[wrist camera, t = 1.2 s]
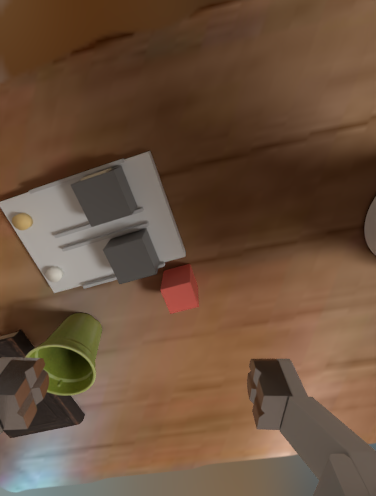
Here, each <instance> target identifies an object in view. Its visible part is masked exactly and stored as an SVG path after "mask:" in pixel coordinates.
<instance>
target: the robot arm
mask: <svg viewBox="0 0 376 496" xmlns="http://www.w3.org/2000/svg"><path fill="white" fill-rule="evenodd" d="M364 232H365V239H366V242H367V245H368V247H369V248H370V250H371V251H372V252H373V253H374V254H375V255H376V197H375V198H374V200H373V202H372V204H371V206H370V208H369V210H368V213H367V216H366V220H365V227H364ZM44 366H45V362H44V359H43V358H23V357H1V358H0V434H1V433H2V432H3V430H18V429H28V427H29V425H30V424H31V422H32V420H33V418H34V416H35V414H36V412H37V407H36V405H37V404H38V403H39V402H40V401H42V400H43V399H44V397H45V395H46V393H47V390H48V386H49V375H48V373H47V372H46V371H45V370H44V369H43V368H44ZM249 367H250V370H251V371H250V372H249V373H248V377H247V389H248V395H249V399H250V401H251V402H252V403H253V404H254V405H253V411H252V412H253V416H254V420H255V424H256V428H257V429H267V430H280V432H281V433H282V435H283V436H284V437H285V438H286V440H287V441H288V442H289V443H290V444H291V446H292V447H293V448H294V449H295V451H296V452H297V453H298V454H299V456H300V457H301V458H302V459H303V461H304V462H305V463H306V464H307V466H308V467H309V468H310V469H311V471H312V472H313V473H314V474H315V476H316V477H317V478H318V479H319V483H318V485H317V487H316V490H315V492H314V494H313V496H376V451H375V450H374V449H373V448H372V447H371V446H369V445H368V444H367V443H366V442H365V441H363V440H362V439H361V438H360V437H359V436H358V435H356V434H355V433H354V432H353V431H352V430H351V429H349V428H348V427H347V426H346V425H345V424H343V423H342V422H341V421H340V420H339V419H338V418H336V417H335V416H334V415H333V414H332V413H331V412H329V411H328V410H327V409H326V408H325V407H323V406H322V405H321V404H320V403H319V402H318V401H316V400H315V399H314V398H313V397H308V395H307V393H306V391H305V389H304V387H303V385H302V383H301V380H300V378H299V376H298V374H297V372H296V370H295V368H294V366H293V363H292V361H291V360H290V359H251V360H250V364H249Z"/></svg>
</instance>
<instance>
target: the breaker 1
mask: <svg viewBox="0 0 376 496" xmlns="http://www.w3.org/2000/svg"><path fill="white" fill-rule="evenodd" d="M71 187H72V189H73V191H74V193H75V195H76V197H77V199H78V201H79V203H80V205H81V207H82V209H83V211H84V213H85V215H86V217H87V219H88V221H89V223H90V225H91V227H94V226H97V225H100V224H103V223H107V222H110V221H113V220H116V219H120V218H123V217H126V216H129V215H132V214H133V213H134V211H135V209H136V208H137V203H136V201H135V199H134V196H133V194H132V191H131V189H130V186H129V184H128V181H127V179H126V176H125V174H124V171H123V169H122V166H120V167H117V168H114V169H111V168H109V169H106V170H103V171H100V172H97V173H94V174H91V175H88V176H86V177H83V178H81V180H79V181H77V182H75V183H73V184H71Z"/></svg>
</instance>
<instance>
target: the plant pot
mask: <svg viewBox="0 0 376 496" xmlns="http://www.w3.org/2000/svg"><path fill="white" fill-rule="evenodd" d="M101 333H102V327H101V324H100V323H99V322H98V321H96V320H95V319H94V318H93V317H92V316H91V315H89V314H85V313H75V314H72V315H70V316H69V317H67V318H66V319H65V320H64V322H63V323H62V324H61V325H60V326H59V327H58V328H57V329H56V330H55V331H54V332H53V334H52V335H51V336H50V337H49V338H48V339H47V340H46V341H45V342H43V343H42V344H41V345H39V346H38V347H35V348H34V349H32V350H31V351H30V352H29V353H28V354H27V355H26V357H25V358H43V359H44V362H45V366H44V368H43V369H44V370H45V371H46V372H47V373H48V375H49V386H48V390H47V392H49V393H52V394H56V395H64V396H66V395H67V396H68V395H75V394H80V393H82V392H84V391H86V390H88V389H89V388H90V387H91V386H92V385H93V383H94V381H95V378H96V369H95V359H96V355H97V350H98V346H99V342H100V338H101Z"/></svg>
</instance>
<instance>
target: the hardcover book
mask: <svg viewBox="0 0 376 496" xmlns="http://www.w3.org/2000/svg"><path fill="white" fill-rule="evenodd" d="M32 349H34V347H33V345H32V344H31V343H30V341H29V340H28V339H27V337H26V336H25V335H24V333H23V332H22V331H21V330H19V332H15V333H11V334H7V335H3V336H0V358H1V357H23V358H25V357H26V355H27V354H28V353H29V352H30V351H31V350H32ZM36 407H37V412H36V414H35V416H34V418H33V420H32V422H31V424H30V425H29V427H28V429H18V430H3V431H4V432H5V433H6V434H7V435H8V436H9V437H10V438H13V437H18V436H23V435H28V434H33V433H38V432H43V431H48V430H53V429H58V428H63V427H68V426H73V425H78V424H80V423H81V422H82V421H83V419H84V416H85V414H84V413H83V412H82V410H81V409H80V408H79V406H78V405H77V404H76V402H75V401H74V400H73V398H72V397H71V396H70V395H68V396H67V395H66V396H64V395H56V394H52V393H49V392H47V393H46V395H45V397H44V399H43V400H42V401H40V402H39V403H38V404H37V405H36Z"/></svg>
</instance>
